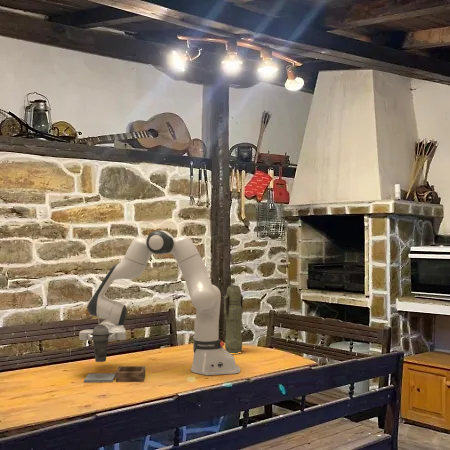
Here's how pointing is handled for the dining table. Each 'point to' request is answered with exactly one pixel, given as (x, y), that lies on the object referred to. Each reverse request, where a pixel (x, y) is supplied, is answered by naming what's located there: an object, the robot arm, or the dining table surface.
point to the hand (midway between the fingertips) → (100, 338)
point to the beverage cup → (100, 342)
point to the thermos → (233, 319)
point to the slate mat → (100, 377)
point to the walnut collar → (130, 374)
